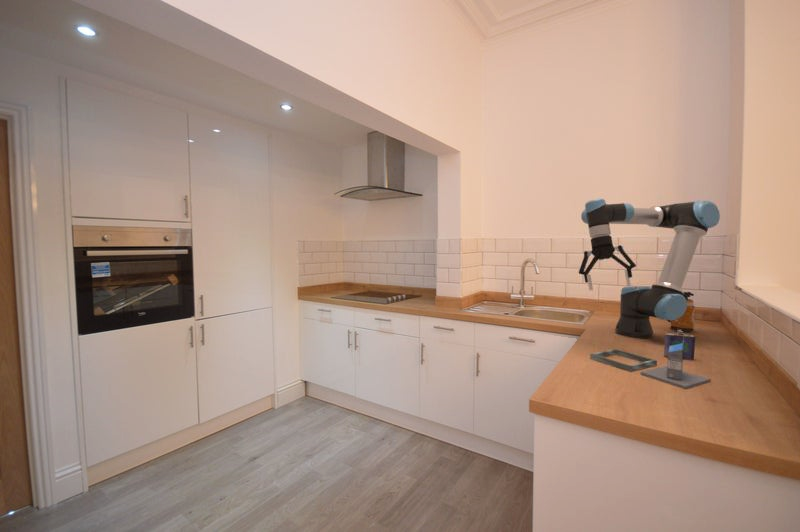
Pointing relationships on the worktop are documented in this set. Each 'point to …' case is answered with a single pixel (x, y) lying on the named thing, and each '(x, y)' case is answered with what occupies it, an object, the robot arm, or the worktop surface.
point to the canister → (685, 316)
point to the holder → (644, 363)
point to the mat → (685, 382)
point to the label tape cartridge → (675, 361)
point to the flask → (678, 339)
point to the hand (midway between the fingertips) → (609, 288)
